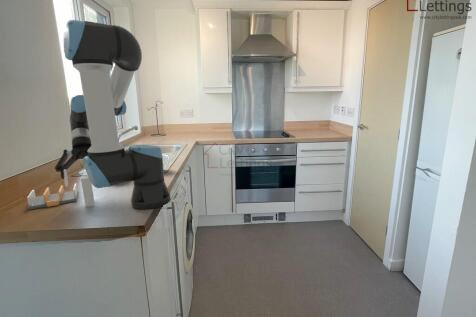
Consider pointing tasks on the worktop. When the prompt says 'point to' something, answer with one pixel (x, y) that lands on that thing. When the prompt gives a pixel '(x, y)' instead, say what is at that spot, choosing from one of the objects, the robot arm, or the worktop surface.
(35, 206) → the rack
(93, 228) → the worktop surface
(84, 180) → the panel
